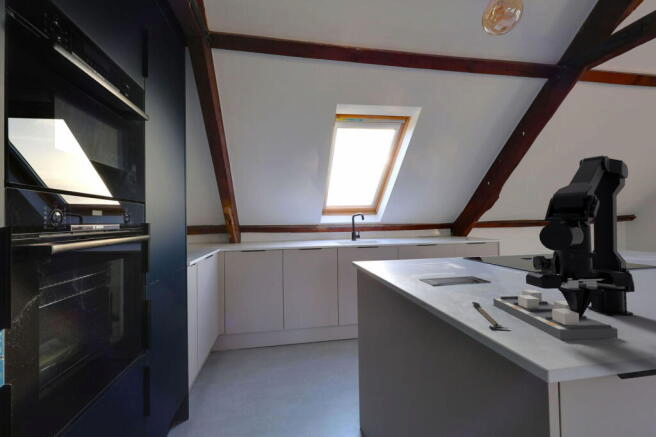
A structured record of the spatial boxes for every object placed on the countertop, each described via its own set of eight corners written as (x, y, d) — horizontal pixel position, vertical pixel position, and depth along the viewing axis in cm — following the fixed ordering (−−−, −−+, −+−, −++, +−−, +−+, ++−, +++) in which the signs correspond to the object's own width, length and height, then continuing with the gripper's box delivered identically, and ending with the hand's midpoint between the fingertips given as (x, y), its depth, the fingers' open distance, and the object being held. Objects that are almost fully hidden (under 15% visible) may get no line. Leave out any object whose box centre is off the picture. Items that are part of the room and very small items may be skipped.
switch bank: (534, 304, 86) (534, 295, 86) (617, 338, 61) (617, 325, 61) (493, 305, 86) (493, 296, 86) (560, 339, 61) (559, 327, 61)
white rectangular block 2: (566, 310, 73) (566, 300, 73) (578, 315, 69) (578, 304, 69) (554, 310, 73) (554, 301, 73) (566, 315, 69) (565, 305, 69)
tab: (529, 304, 79) (529, 295, 79) (539, 308, 75) (538, 298, 75) (518, 304, 79) (517, 295, 79) (527, 308, 75) (526, 299, 75)
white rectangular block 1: (532, 297, 85) (532, 289, 85) (541, 301, 81) (541, 292, 81) (522, 298, 85) (522, 289, 85) (531, 301, 81) (530, 292, 81)
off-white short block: (565, 319, 67) (565, 308, 67) (579, 324, 63) (578, 313, 63) (552, 319, 67) (552, 308, 67) (565, 325, 63) (564, 313, 63)
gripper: (584, 243, 73) (587, 306, 73) (509, 245, 73) (512, 308, 73) (630, 247, 62) (633, 321, 62) (542, 249, 62) (545, 323, 62)
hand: (577, 317), depth 65 cm, fingers closed
